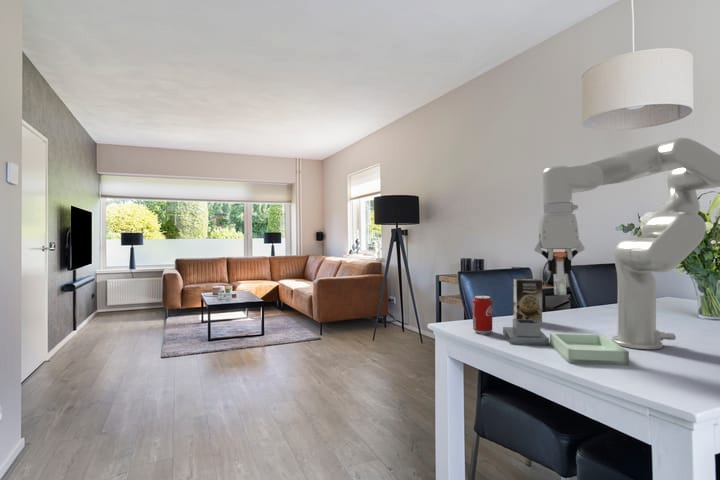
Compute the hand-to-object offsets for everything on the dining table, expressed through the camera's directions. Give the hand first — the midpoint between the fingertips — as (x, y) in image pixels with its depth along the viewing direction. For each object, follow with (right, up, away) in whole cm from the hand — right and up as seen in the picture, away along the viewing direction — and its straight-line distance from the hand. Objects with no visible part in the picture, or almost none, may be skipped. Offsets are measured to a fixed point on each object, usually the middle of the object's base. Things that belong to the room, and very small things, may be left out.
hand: (559, 272), depth 122 cm
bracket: (-6, -22, +11) cm, 25 cm away
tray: (+4, -22, -6) cm, 23 cm away
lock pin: (0, -6, 0) cm, 6 cm away
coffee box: (+5, -21, +35) cm, 42 cm away
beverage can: (-16, -22, +21) cm, 34 cm away
